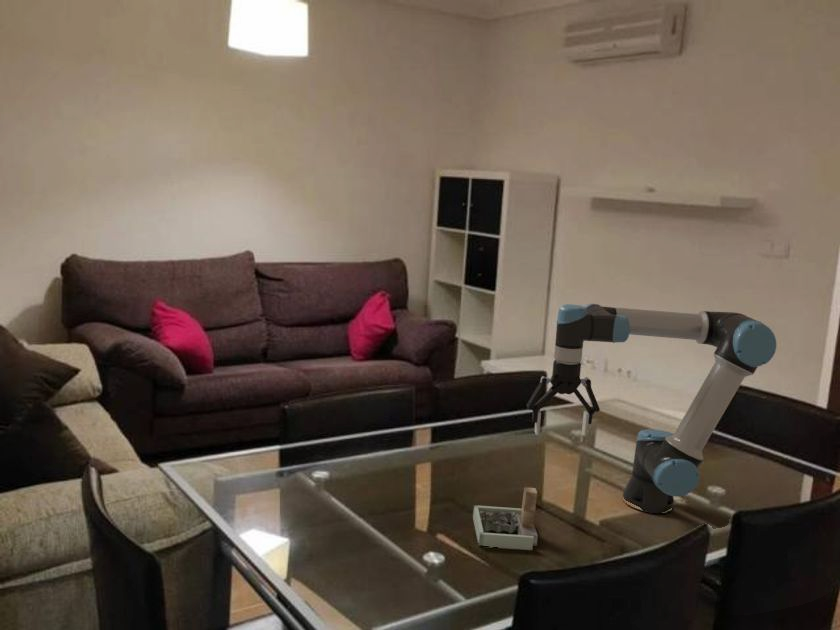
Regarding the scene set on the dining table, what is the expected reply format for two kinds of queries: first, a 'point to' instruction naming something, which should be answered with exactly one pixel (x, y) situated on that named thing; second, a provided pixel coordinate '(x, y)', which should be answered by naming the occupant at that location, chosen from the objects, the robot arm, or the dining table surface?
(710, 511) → the dining table surface
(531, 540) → the box
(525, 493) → the scraper
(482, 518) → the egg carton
